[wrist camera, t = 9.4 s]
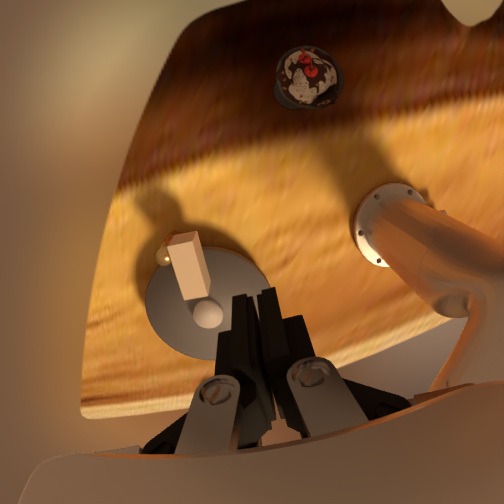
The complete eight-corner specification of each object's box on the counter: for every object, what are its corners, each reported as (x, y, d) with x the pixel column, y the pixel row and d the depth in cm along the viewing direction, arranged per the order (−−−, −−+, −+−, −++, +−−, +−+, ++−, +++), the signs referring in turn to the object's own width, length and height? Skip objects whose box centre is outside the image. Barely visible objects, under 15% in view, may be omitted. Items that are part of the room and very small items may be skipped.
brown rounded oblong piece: (221, 222, 40) (217, 239, 34) (242, 316, 46) (243, 345, 39) (164, 233, 40) (150, 252, 34) (191, 324, 46) (185, 353, 39)
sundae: (267, 65, 33) (283, 24, 19) (319, 71, 33) (362, 38, 19) (264, 113, 35) (279, 98, 21) (316, 118, 36) (360, 109, 22)
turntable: (164, 216, 37) (153, 229, 32) (297, 257, 40) (305, 275, 35) (140, 335, 44) (130, 357, 39) (249, 365, 47) (250, 389, 42)
